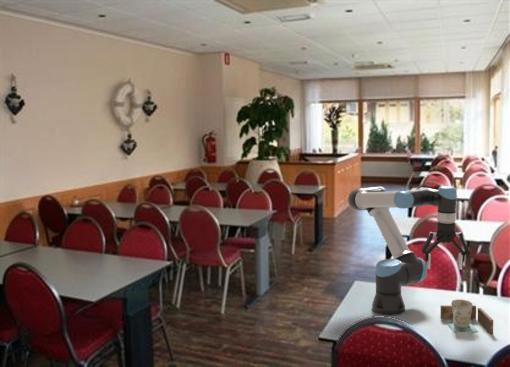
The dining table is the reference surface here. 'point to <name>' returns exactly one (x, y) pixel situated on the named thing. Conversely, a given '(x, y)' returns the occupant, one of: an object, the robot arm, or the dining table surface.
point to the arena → (482, 318)
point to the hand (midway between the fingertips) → (444, 268)
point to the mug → (461, 313)
